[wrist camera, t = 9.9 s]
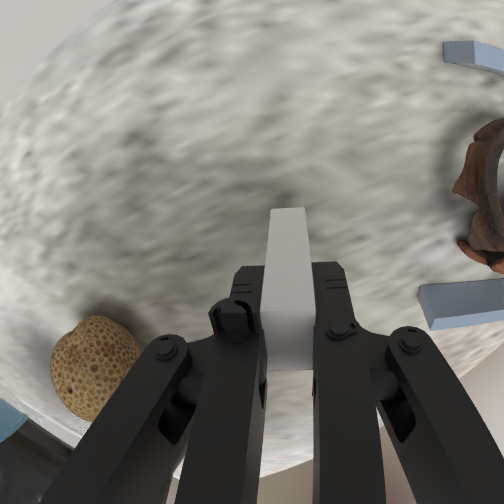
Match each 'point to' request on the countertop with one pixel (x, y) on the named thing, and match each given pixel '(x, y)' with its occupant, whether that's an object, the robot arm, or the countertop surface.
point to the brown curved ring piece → (484, 196)
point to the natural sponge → (92, 364)
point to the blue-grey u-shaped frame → (476, 292)
